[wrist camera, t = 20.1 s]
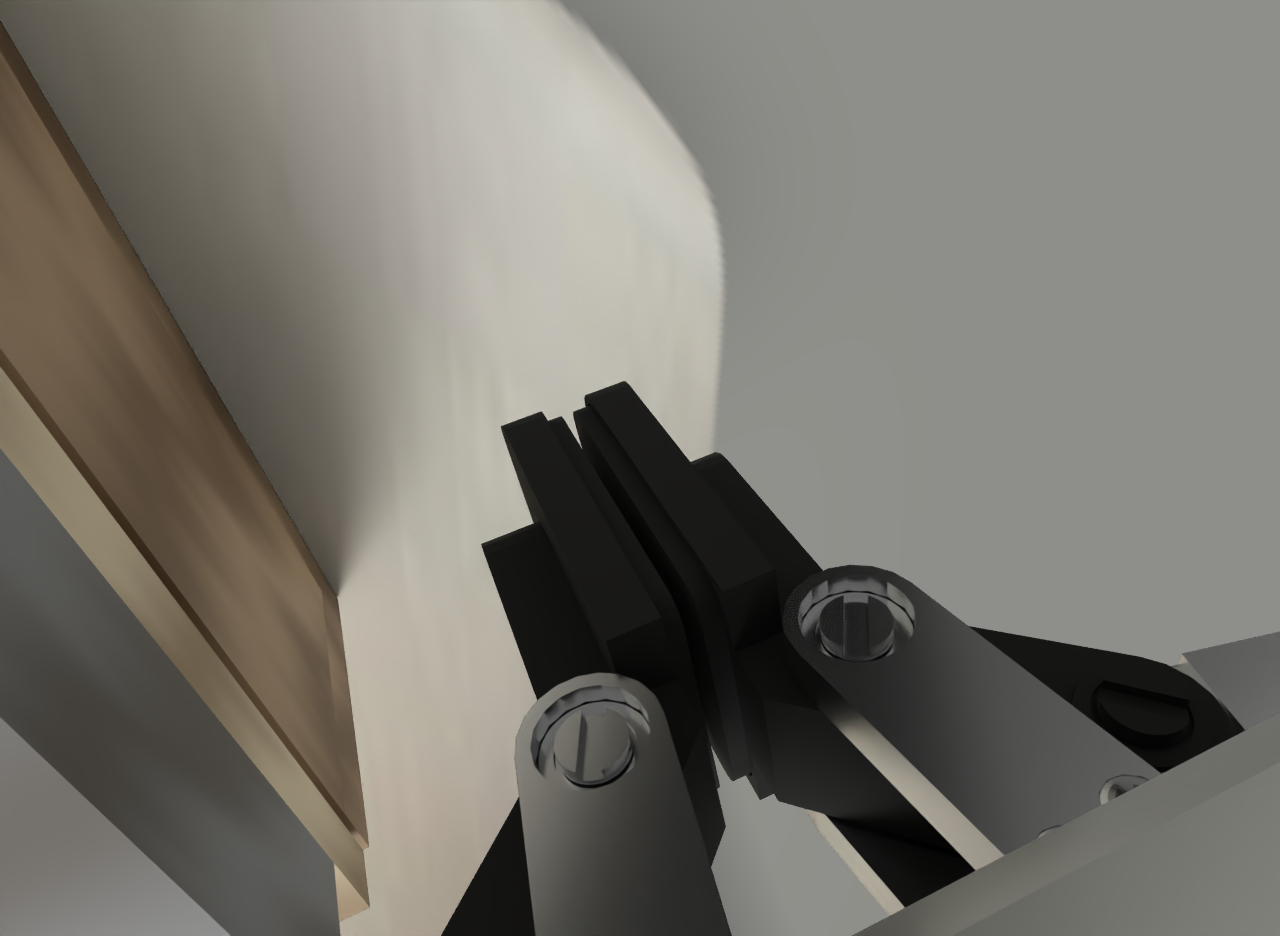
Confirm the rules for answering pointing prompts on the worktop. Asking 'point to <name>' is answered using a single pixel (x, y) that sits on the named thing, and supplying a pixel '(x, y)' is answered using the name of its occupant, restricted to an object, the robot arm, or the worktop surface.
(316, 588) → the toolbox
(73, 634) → the lid
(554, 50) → the worktop surface
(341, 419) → the worktop surface
